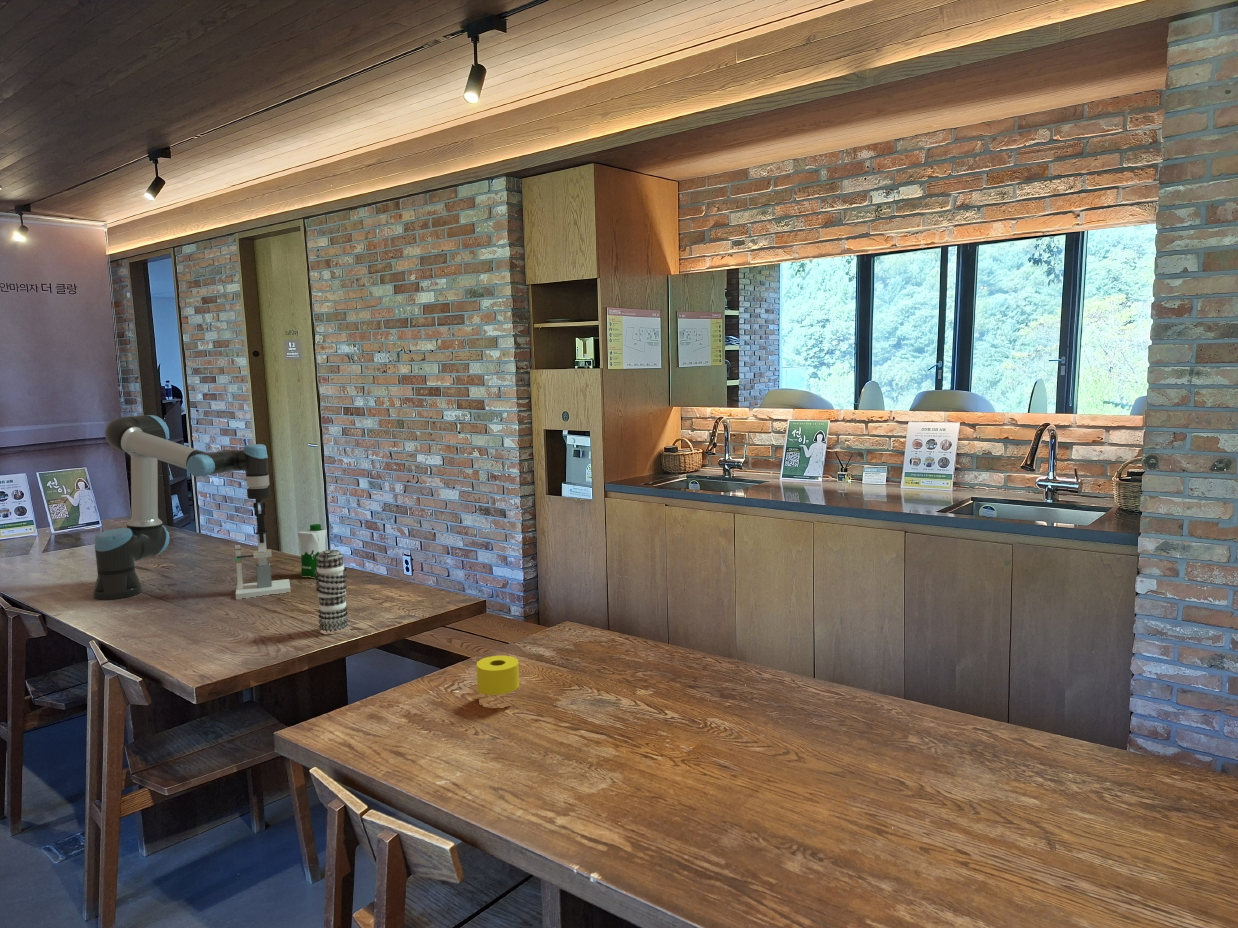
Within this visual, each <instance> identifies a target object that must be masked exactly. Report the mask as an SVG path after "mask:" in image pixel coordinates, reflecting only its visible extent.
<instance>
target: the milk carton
mask: <svg viewBox="0 0 1238 928" xmlns="http://www.w3.org/2000/svg"><path fill="white" fill-rule="evenodd" d="M326 536H327V529H325V528H324V529H322V525H321V524H320V523H314V524H309V529H305V530H301V531H297V537H298V539H299V544H300V545H299V546H300V559H301V566H300V568H301V570H300V571H301V574H300V577H301V576H311V577H315V576H316V575H315V573H314V572H315V571H316V570H317V558H316V557H317V556H318V555H319V554H320V552H322V551H325V550H327V548H326Z"/></svg>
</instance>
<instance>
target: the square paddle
mask: <svg viewBox="0 0 1238 928" xmlns="http://www.w3.org/2000/svg"><path fill="white" fill-rule="evenodd" d="M252 553H253V554H246V555H245V554H244V555H241V556H237V558H245V559H246V558H253V559H258V564H259V566H267V565H268V563H269V562H268V558H270V557H271V558H272V555H273V554H272V549H271V548H269V549H267V551H263V552H259V551H258V550H253V551H252Z"/></svg>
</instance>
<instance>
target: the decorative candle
mask: <svg viewBox="0 0 1238 928" xmlns="http://www.w3.org/2000/svg"><path fill="white" fill-rule="evenodd" d="M316 558H317V570H316V571H315V572H314V573H315V575H316V576H315V580H316V582H315V586H316V589H315V590H316V591H317V592H318V593H317V594H316V595H317V597H318V601H319V604H318V610H317V612H318V613H319V614H318V618H319V620H318V624H319V626H318V628H319V630H320V629H321V630H323V631H326V632H327V631H330V632H331V631H337V630H341V629H344V628H345V627H348V625H349V622H348V621H349V618H348V616H347V615H348V611H347V610H348V607H347V601H346V593H347V590H346V588H347V585H345V583H346V582H347V579H346V577H347V574H346V573H344V572H346V571H347V568H346V567H345V564H344V559H343V558H344V553H342V552H341V551H340V550H339V549H338V550H337V549H326V550H325V551H322V552H320V554H319V555H318V556H317V557H316Z"/></svg>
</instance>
